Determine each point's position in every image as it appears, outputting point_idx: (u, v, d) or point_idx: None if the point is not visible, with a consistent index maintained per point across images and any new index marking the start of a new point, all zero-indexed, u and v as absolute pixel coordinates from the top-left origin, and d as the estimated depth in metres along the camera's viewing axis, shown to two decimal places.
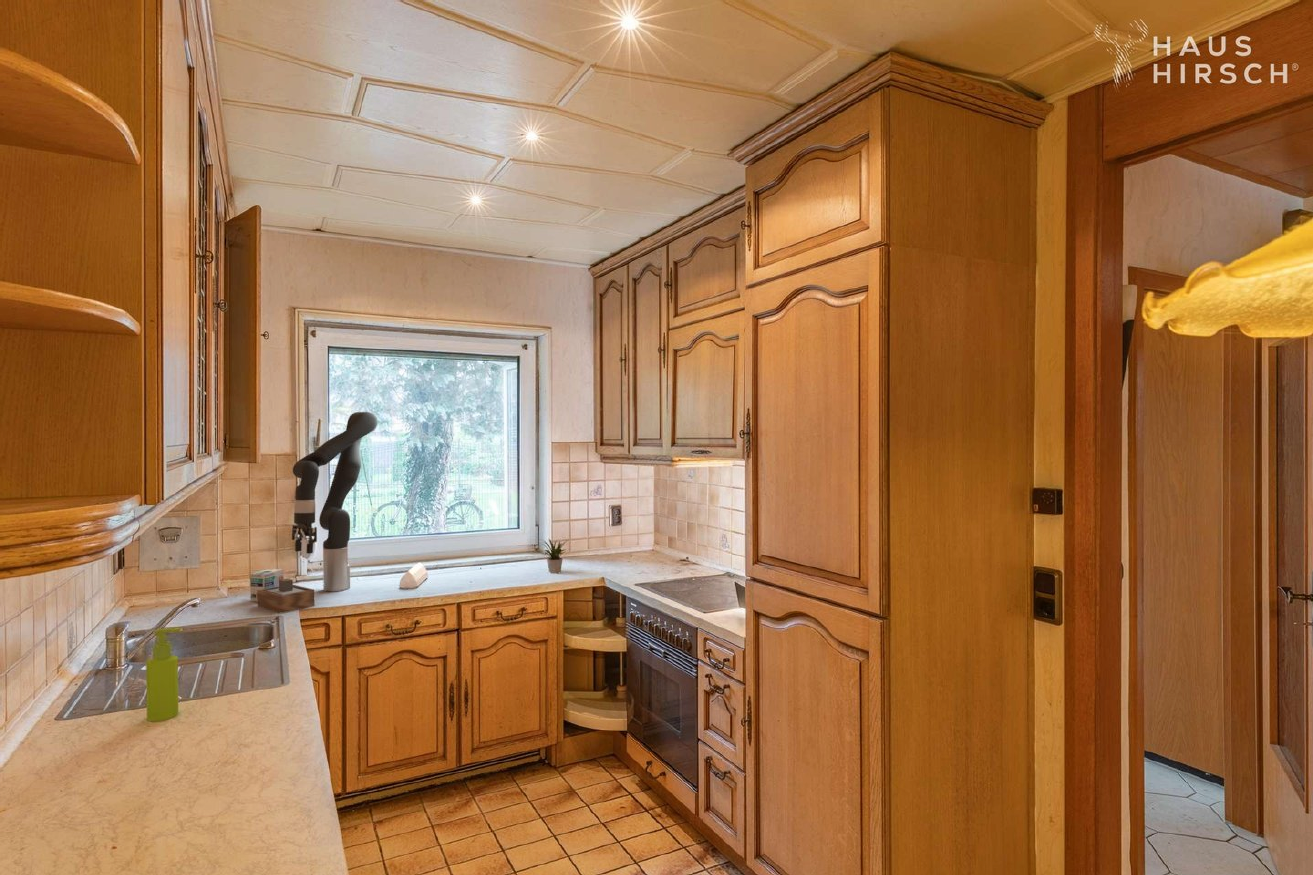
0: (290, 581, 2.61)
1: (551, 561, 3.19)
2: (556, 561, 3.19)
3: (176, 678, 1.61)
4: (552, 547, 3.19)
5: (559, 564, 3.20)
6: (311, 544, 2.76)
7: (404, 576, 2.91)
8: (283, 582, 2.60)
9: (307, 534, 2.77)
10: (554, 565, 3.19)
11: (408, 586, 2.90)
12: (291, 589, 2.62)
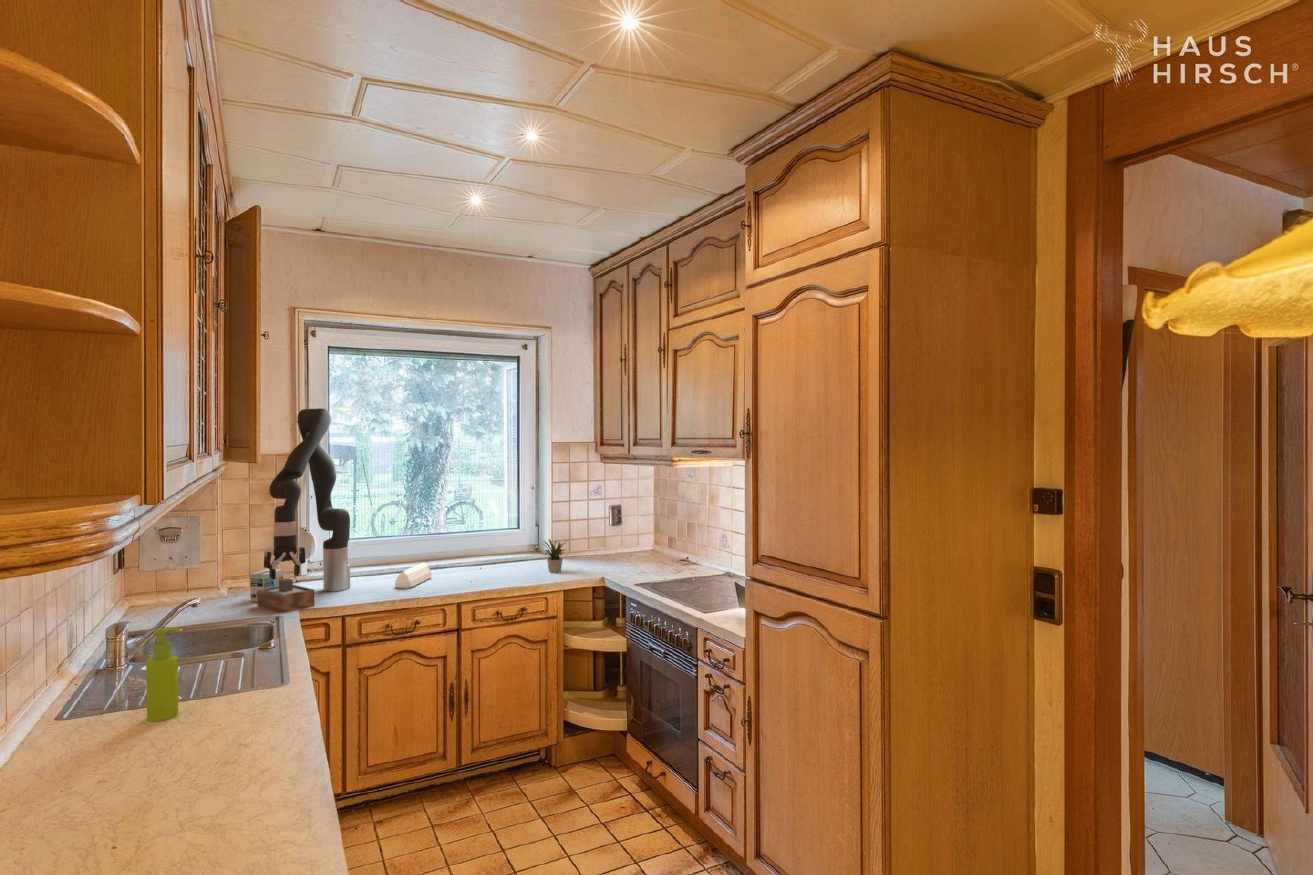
0: (290, 581, 2.61)
1: (551, 561, 3.19)
2: (556, 561, 3.19)
3: (176, 678, 1.61)
4: (552, 547, 3.19)
5: (559, 564, 3.20)
6: None
7: (399, 576, 2.91)
8: (283, 582, 2.60)
9: None
10: (554, 565, 3.19)
11: (402, 586, 2.90)
12: (291, 589, 2.62)
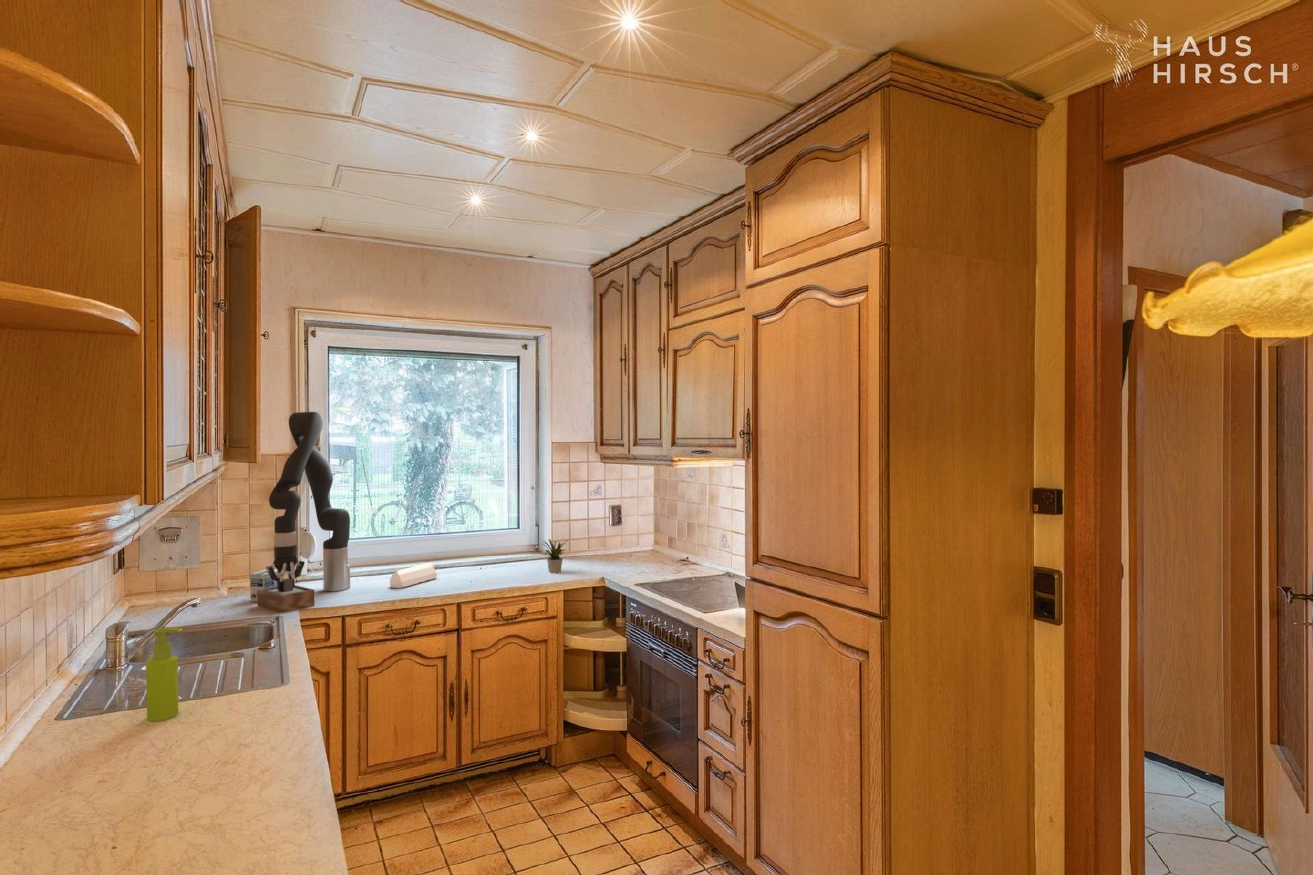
0: (290, 581, 2.61)
1: (551, 561, 3.19)
2: (556, 561, 3.19)
3: (176, 678, 1.61)
4: (552, 547, 3.19)
5: (559, 564, 3.20)
6: None
7: (392, 575, 2.92)
8: (283, 582, 2.60)
9: None
10: (554, 565, 3.19)
11: (395, 586, 2.91)
12: (291, 589, 2.62)
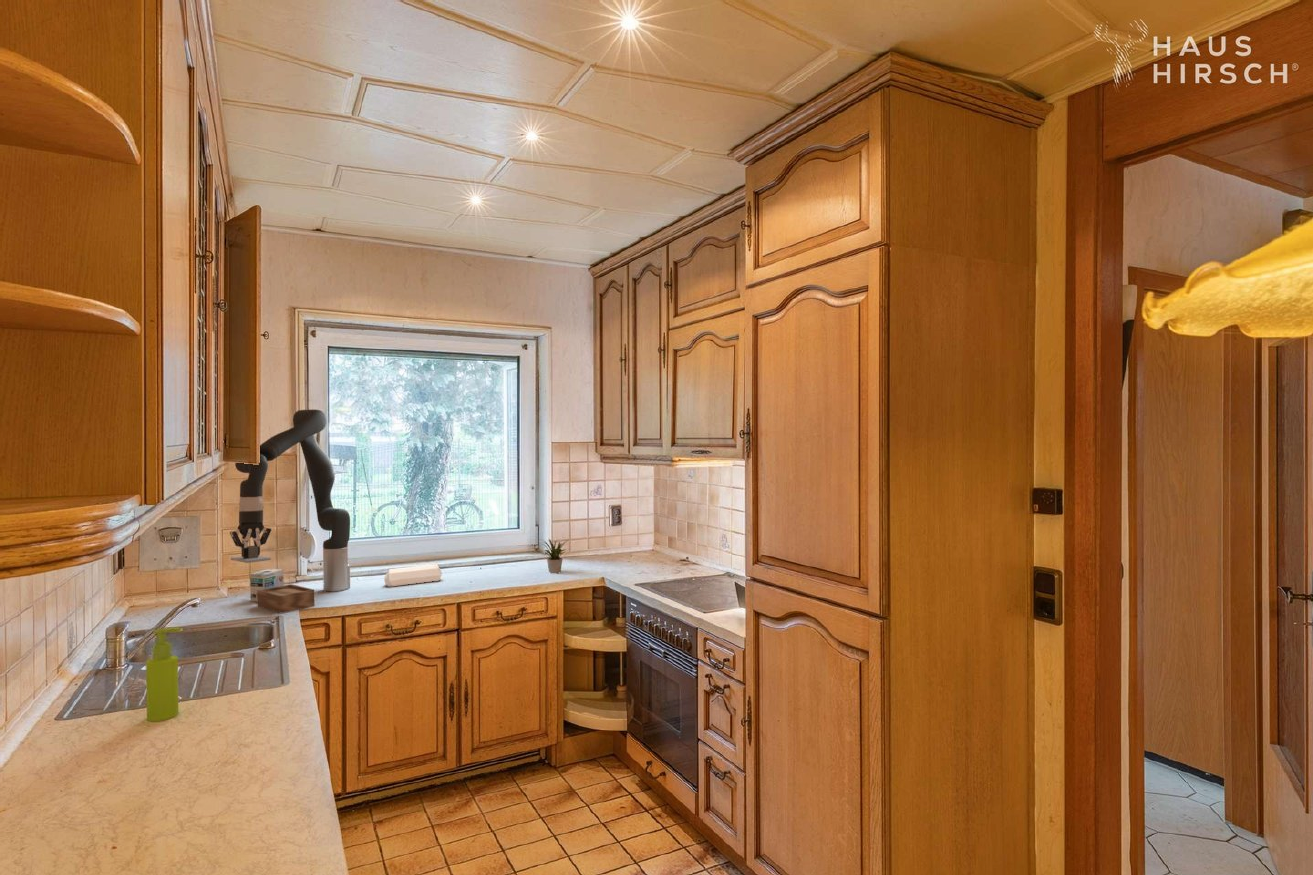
0: (255, 548, 2.51)
1: (551, 561, 3.19)
2: (556, 561, 3.19)
3: (176, 678, 1.61)
4: (552, 547, 3.19)
5: (559, 564, 3.20)
6: None
7: (386, 573, 2.97)
8: (248, 548, 2.50)
9: None
10: (554, 565, 3.19)
11: (386, 584, 2.95)
12: (256, 556, 2.51)
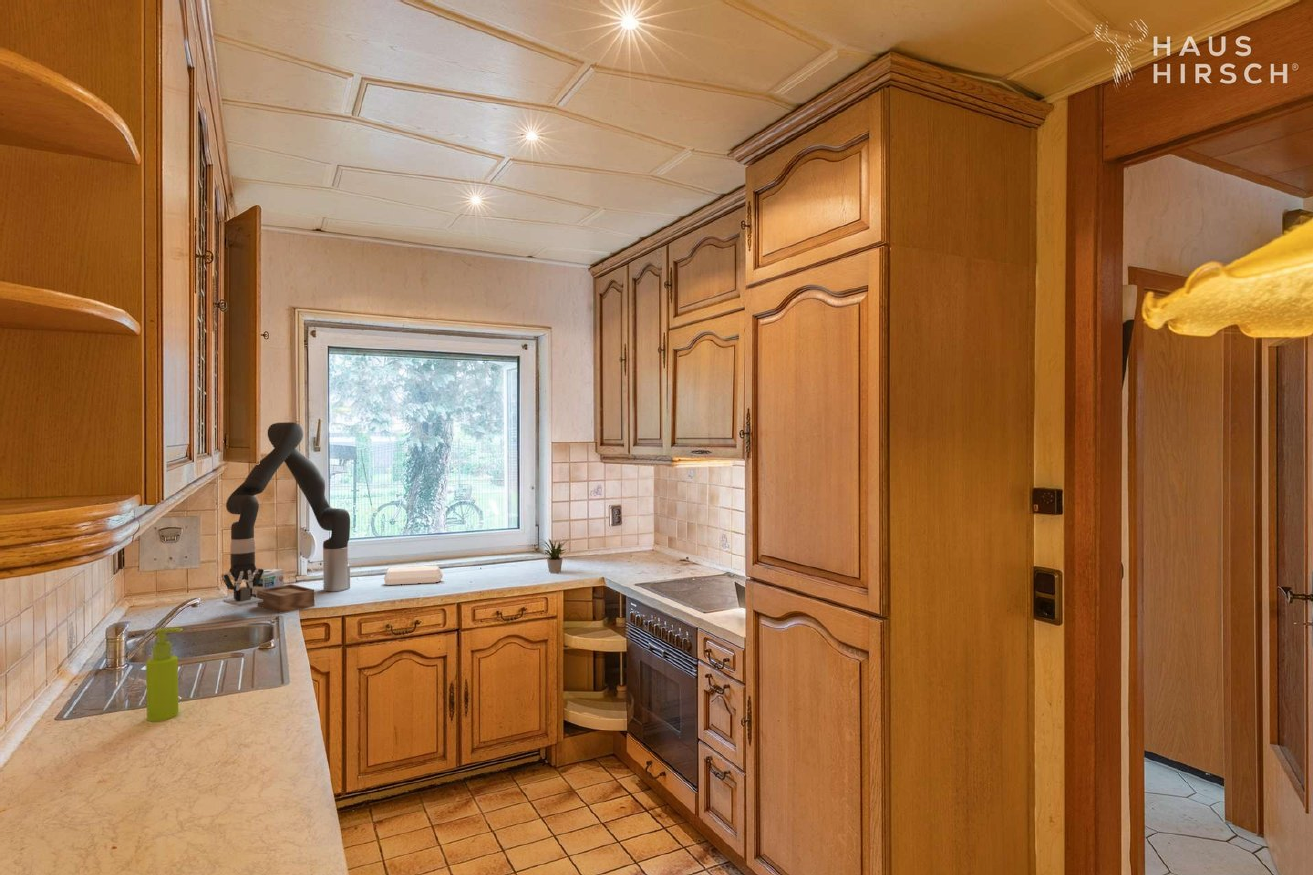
0: (247, 590, 2.49)
1: (551, 561, 3.19)
2: (556, 561, 3.19)
3: (176, 678, 1.61)
4: (552, 547, 3.19)
5: (559, 564, 3.20)
6: None
7: None
8: (240, 591, 2.48)
9: None
10: (554, 565, 3.19)
11: (385, 582, 2.99)
12: (249, 598, 2.49)
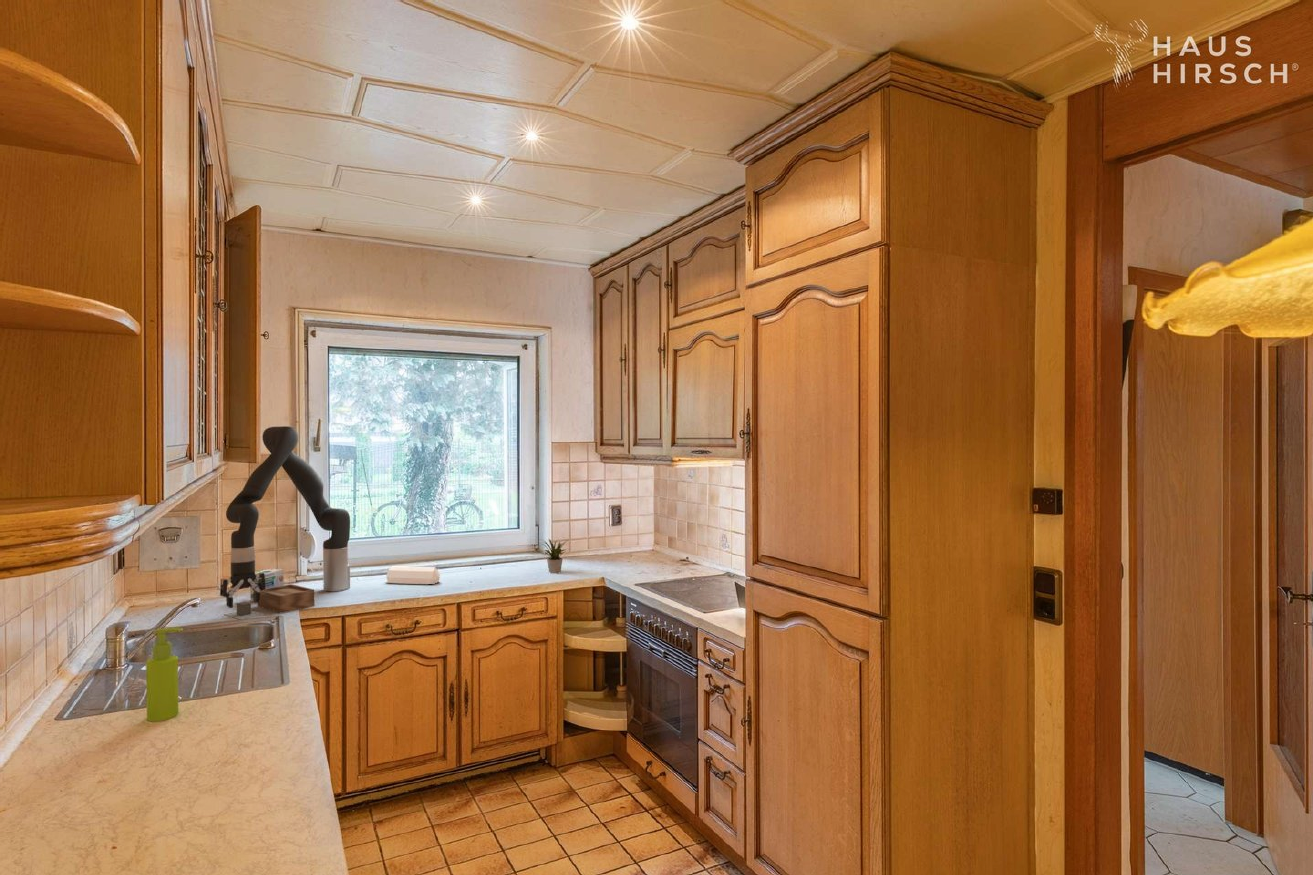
0: (248, 604, 2.49)
1: (551, 561, 3.19)
2: (556, 561, 3.19)
3: (176, 678, 1.61)
4: (552, 547, 3.19)
5: (559, 564, 3.20)
6: None
7: None
8: (241, 605, 2.48)
9: None
10: (554, 565, 3.19)
11: None
12: (249, 613, 2.50)
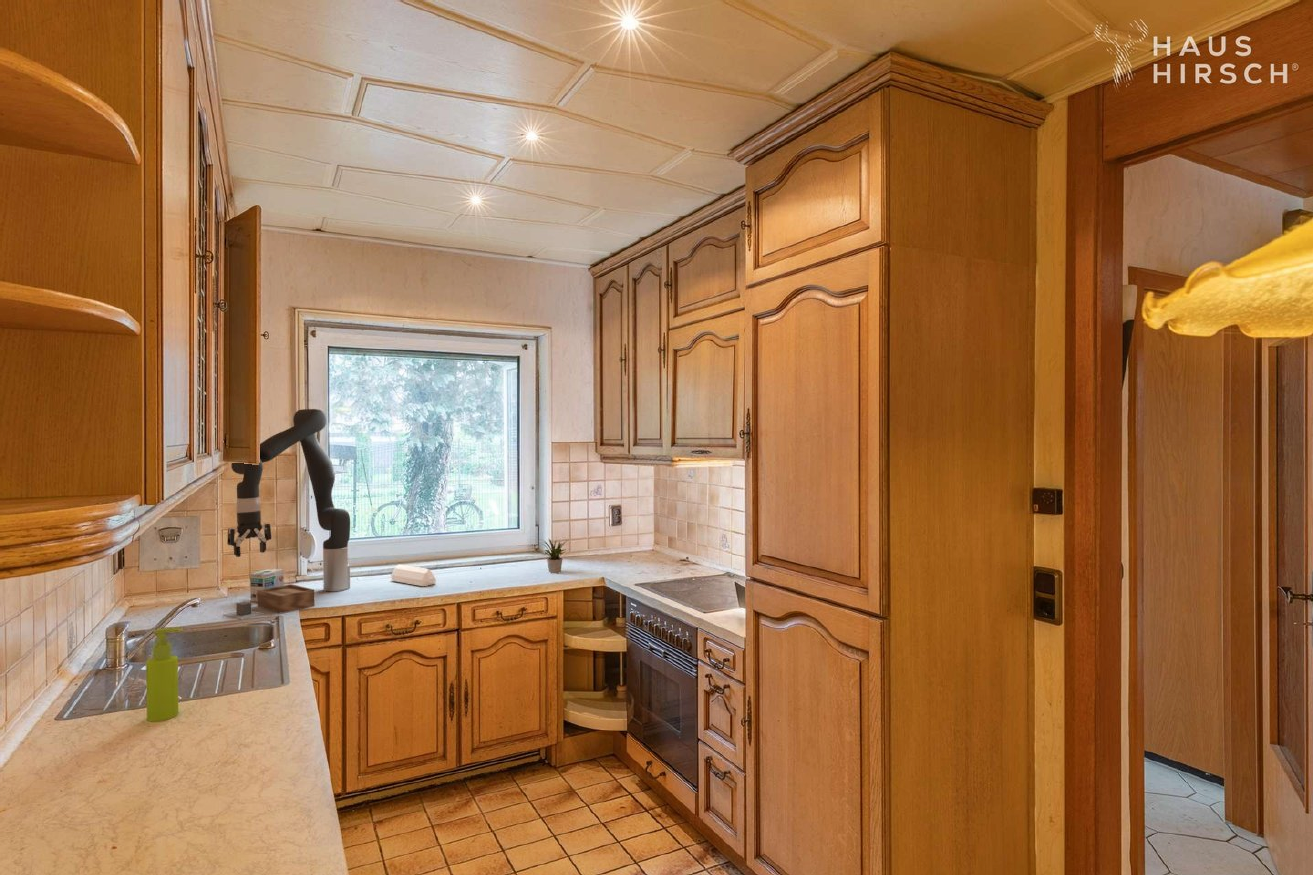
0: (249, 604, 2.50)
1: (551, 561, 3.19)
2: (556, 561, 3.19)
3: (176, 678, 1.61)
4: (552, 547, 3.19)
5: (559, 564, 3.20)
6: None
7: None
8: (241, 605, 2.48)
9: None
10: (554, 565, 3.19)
11: None
12: (250, 612, 2.50)
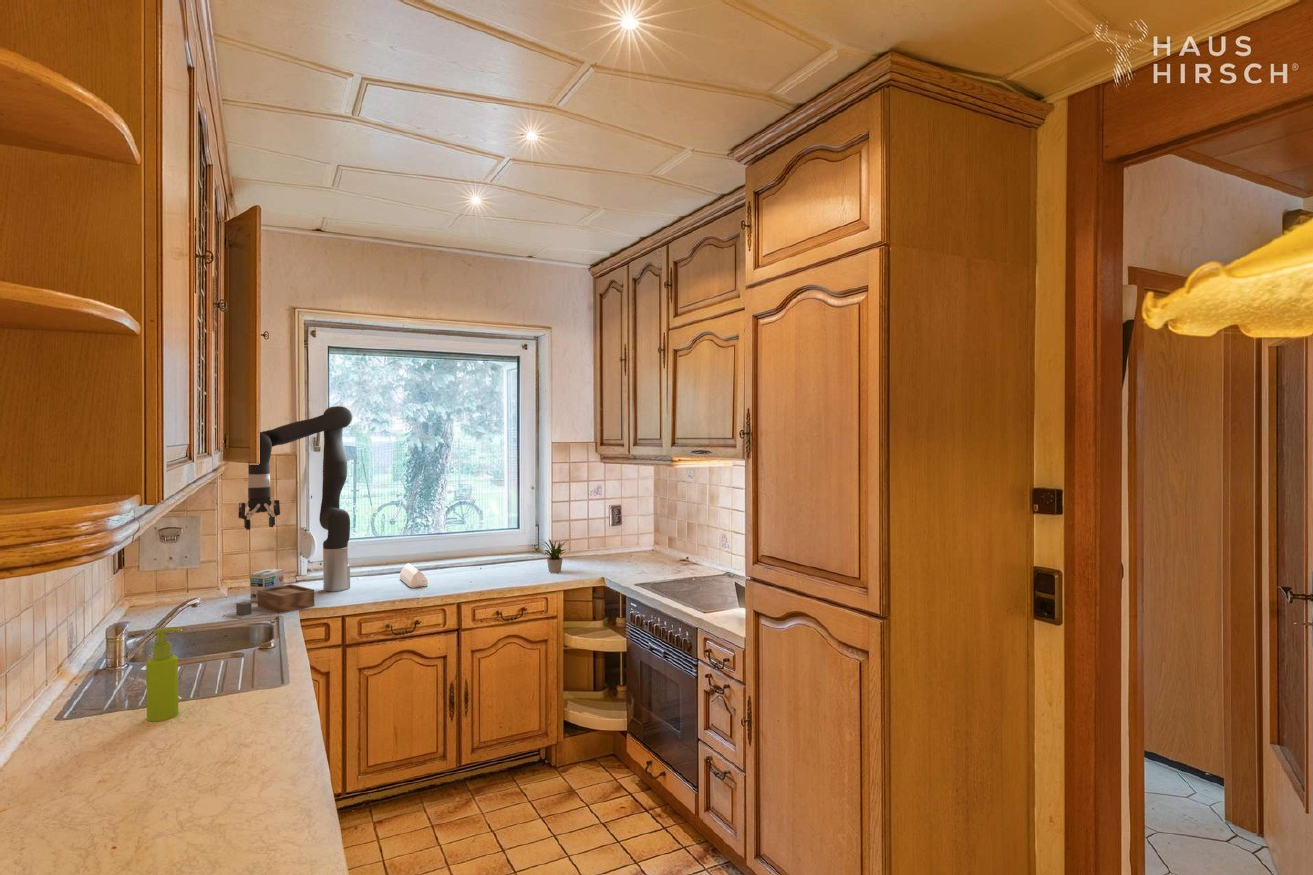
0: (249, 604, 2.50)
1: (551, 561, 3.19)
2: (556, 561, 3.19)
3: (176, 678, 1.61)
4: (552, 547, 3.19)
5: (559, 564, 3.20)
6: None
7: None
8: (242, 605, 2.48)
9: None
10: (554, 565, 3.19)
11: None
12: (250, 612, 2.50)
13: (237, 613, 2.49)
